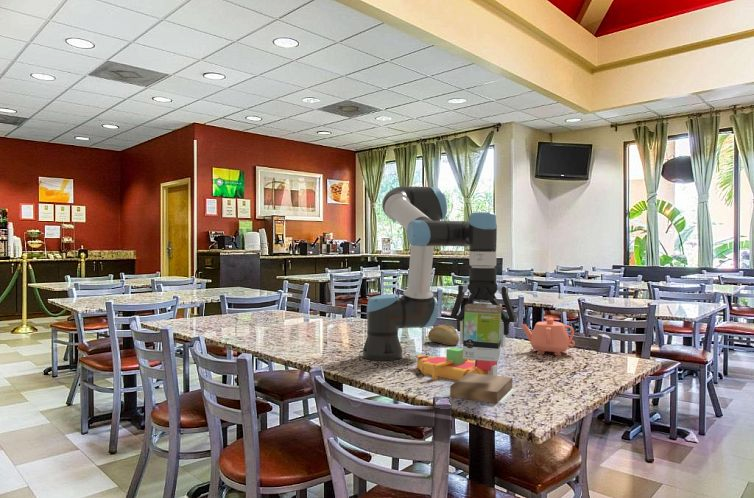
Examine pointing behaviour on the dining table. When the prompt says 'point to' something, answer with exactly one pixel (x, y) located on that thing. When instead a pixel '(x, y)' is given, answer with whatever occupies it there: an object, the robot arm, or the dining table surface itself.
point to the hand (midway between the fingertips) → (482, 344)
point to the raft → (454, 365)
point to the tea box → (482, 331)
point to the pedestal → (481, 387)
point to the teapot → (549, 337)
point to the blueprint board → (502, 401)
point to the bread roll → (444, 335)
